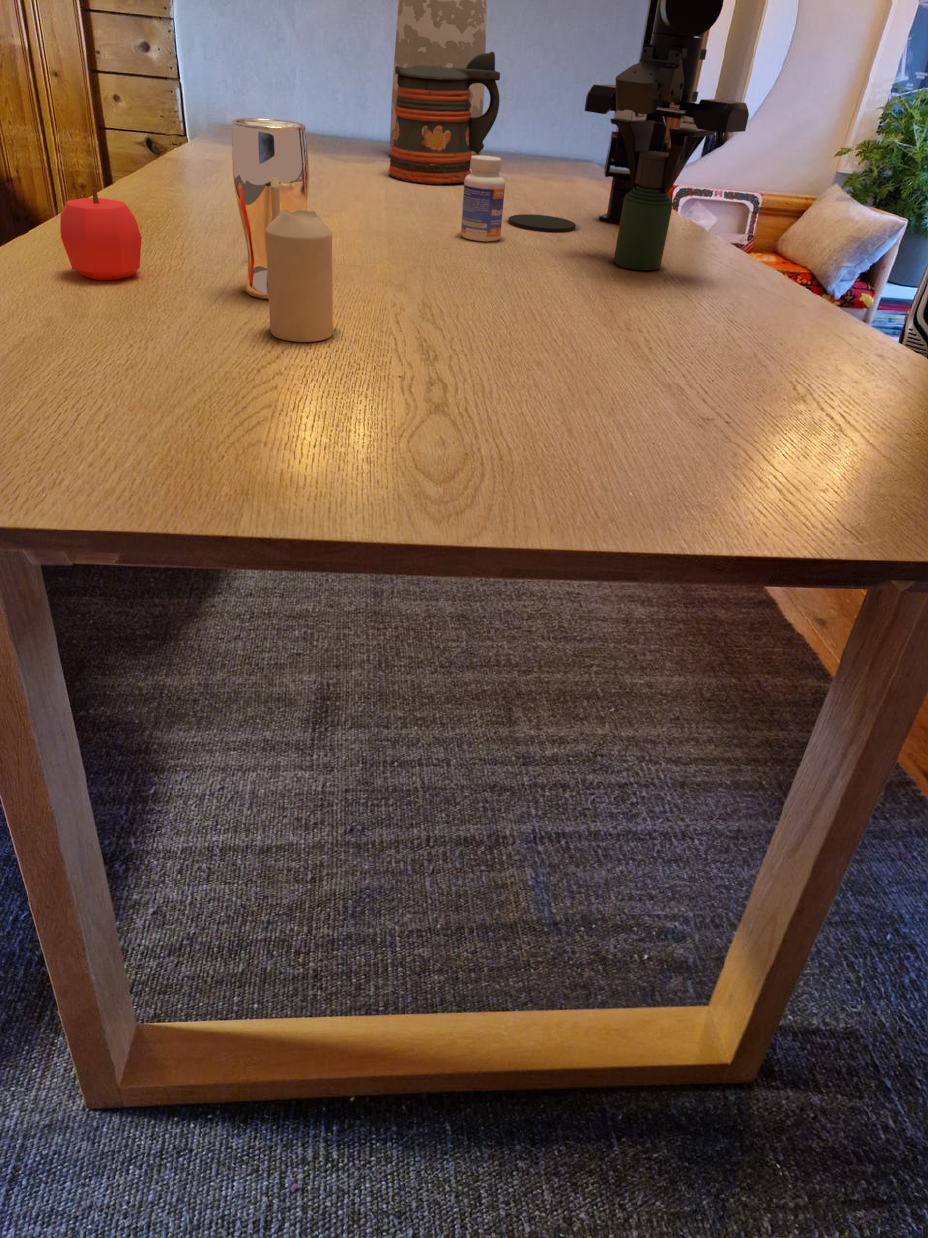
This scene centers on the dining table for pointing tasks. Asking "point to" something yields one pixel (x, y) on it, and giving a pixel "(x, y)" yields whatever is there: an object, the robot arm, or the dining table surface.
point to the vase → (440, 41)
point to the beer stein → (440, 120)
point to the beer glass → (267, 184)
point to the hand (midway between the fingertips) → (649, 189)
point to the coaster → (542, 223)
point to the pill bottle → (483, 200)
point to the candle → (299, 276)
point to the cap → (651, 168)
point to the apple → (101, 237)
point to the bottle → (643, 228)
